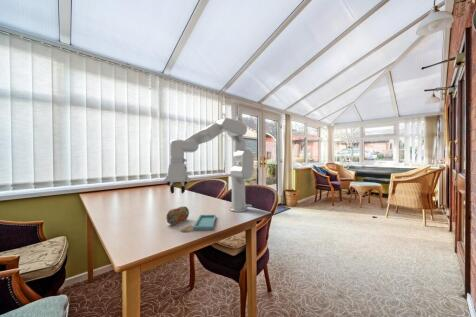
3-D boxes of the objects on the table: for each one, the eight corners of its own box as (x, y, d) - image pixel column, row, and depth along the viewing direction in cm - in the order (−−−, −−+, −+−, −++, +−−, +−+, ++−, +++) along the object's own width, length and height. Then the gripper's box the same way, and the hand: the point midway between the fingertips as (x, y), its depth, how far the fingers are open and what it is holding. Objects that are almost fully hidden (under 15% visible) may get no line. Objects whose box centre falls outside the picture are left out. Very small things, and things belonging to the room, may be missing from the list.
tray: (216, 217, 126) (216, 214, 126) (212, 230, 105) (212, 226, 105) (200, 217, 126) (199, 214, 126) (192, 230, 105) (192, 226, 105)
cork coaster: (196, 226, 111) (196, 225, 111) (193, 232, 103) (193, 231, 103) (182, 226, 110) (182, 225, 110) (177, 232, 102) (177, 231, 102)
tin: (169, 226, 111) (169, 211, 110) (165, 225, 112) (165, 210, 112) (189, 219, 124) (189, 205, 123) (185, 218, 125) (185, 204, 125)
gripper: (193, 161, 121) (193, 191, 121) (164, 161, 121) (164, 192, 121) (190, 161, 113) (191, 194, 114) (159, 161, 113) (160, 194, 113)
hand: (177, 192), depth 117 cm, fingers open, 5 cm apart
